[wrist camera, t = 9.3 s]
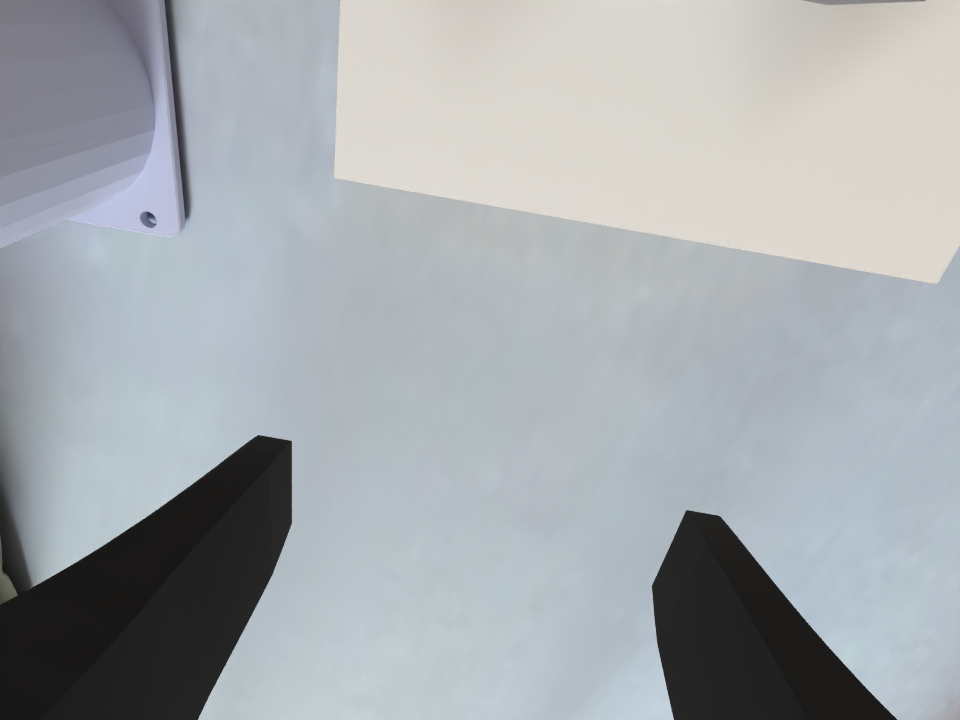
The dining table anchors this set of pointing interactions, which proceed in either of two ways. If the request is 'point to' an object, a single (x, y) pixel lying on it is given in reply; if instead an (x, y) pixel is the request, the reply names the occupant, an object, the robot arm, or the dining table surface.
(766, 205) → the stand base
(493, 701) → the dining table surface
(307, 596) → the dining table surface
